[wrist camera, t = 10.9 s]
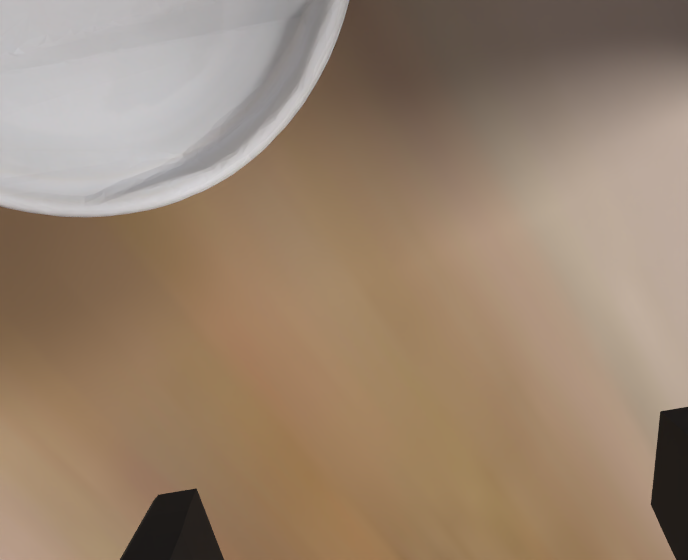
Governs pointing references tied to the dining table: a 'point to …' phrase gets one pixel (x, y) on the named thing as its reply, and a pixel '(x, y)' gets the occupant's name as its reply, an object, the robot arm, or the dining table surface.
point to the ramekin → (148, 95)
